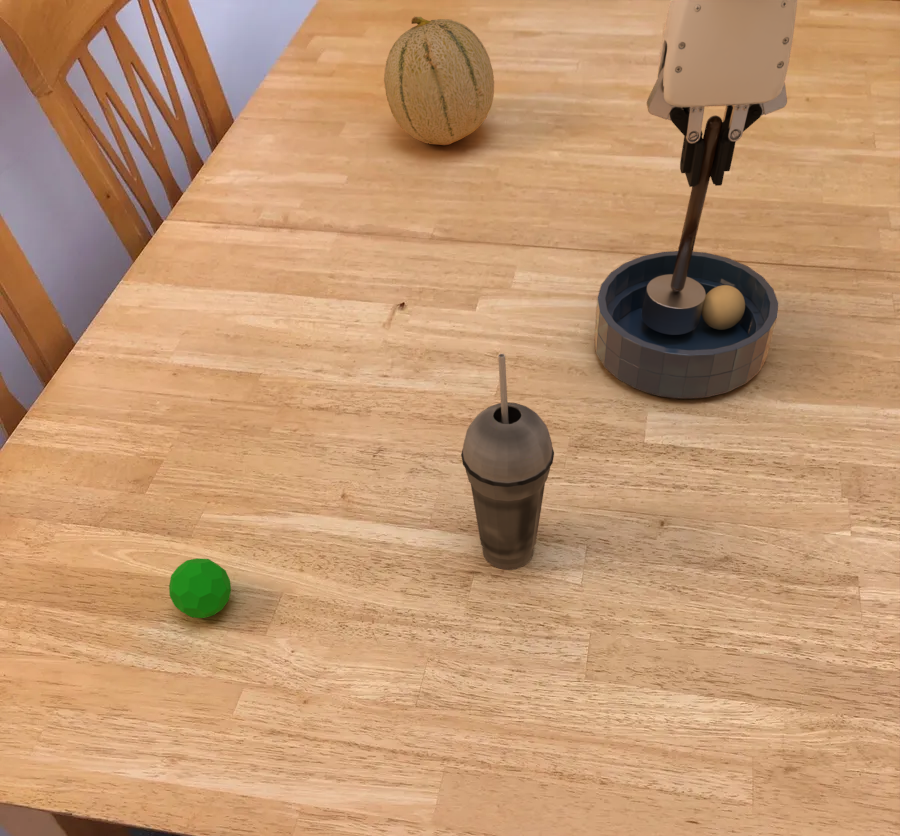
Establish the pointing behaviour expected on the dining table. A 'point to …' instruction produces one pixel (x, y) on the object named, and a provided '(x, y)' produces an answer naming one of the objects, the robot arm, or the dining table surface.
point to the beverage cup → (507, 477)
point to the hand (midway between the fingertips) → (702, 177)
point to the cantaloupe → (439, 81)
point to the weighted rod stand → (683, 259)
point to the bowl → (691, 354)
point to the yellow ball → (723, 307)
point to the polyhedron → (199, 588)
